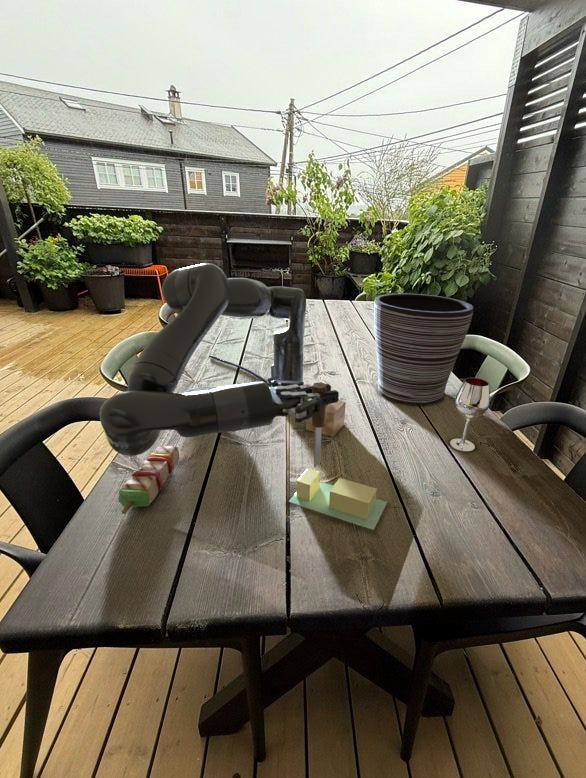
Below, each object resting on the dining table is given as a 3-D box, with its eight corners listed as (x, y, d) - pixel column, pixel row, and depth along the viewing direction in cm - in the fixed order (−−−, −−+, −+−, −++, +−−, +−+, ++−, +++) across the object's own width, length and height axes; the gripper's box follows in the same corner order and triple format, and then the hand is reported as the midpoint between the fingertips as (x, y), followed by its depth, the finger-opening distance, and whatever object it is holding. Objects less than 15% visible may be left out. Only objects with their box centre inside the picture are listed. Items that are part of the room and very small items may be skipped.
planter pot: (450, 418, 119) (471, 317, 105) (354, 399, 127) (362, 304, 114) (458, 384, 144) (476, 300, 131) (378, 370, 153) (387, 290, 139)
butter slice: (296, 497, 81) (296, 480, 79) (307, 483, 85) (307, 468, 83) (309, 501, 80) (310, 485, 78) (320, 487, 84) (320, 472, 82)
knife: (308, 465, 78) (309, 386, 70) (314, 459, 80) (315, 381, 72) (320, 469, 77) (322, 389, 69) (325, 462, 79) (328, 384, 72)
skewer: (156, 460, 91) (153, 441, 89) (184, 462, 91) (182, 443, 89) (107, 522, 73) (101, 500, 71) (142, 524, 73) (138, 502, 71)
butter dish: (288, 504, 80) (288, 485, 78) (308, 481, 87) (308, 462, 85) (373, 533, 74) (375, 512, 72) (387, 504, 81) (389, 485, 79)
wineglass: (478, 441, 107) (494, 379, 99) (478, 456, 100) (494, 390, 92) (447, 435, 109) (460, 373, 101) (445, 449, 102) (458, 384, 94)
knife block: (305, 429, 108) (306, 406, 105) (318, 418, 115) (319, 396, 111) (332, 436, 105) (334, 413, 102) (344, 424, 112) (345, 401, 109)
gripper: (251, 403, 59) (353, 387, 66) (228, 371, 70) (318, 361, 77) (253, 447, 62) (350, 427, 69) (231, 410, 73) (317, 396, 80)
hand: (333, 392), depth 73 cm, fingers closed on knife, 2 cm apart
